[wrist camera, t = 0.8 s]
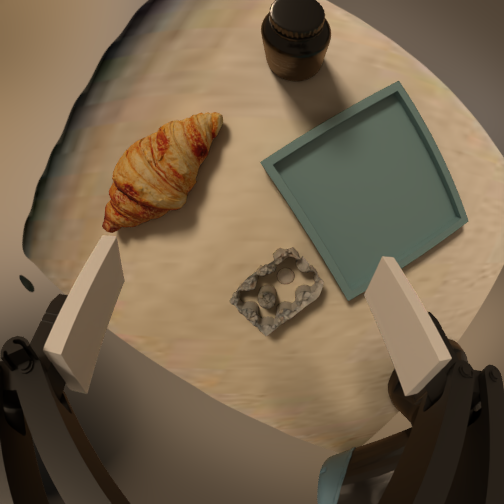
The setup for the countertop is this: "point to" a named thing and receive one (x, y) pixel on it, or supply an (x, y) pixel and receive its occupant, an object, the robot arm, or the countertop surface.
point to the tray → (369, 187)
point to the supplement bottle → (295, 38)
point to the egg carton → (268, 292)
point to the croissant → (159, 171)
